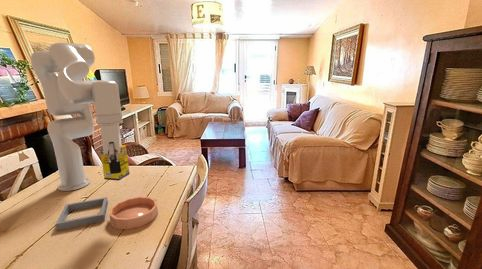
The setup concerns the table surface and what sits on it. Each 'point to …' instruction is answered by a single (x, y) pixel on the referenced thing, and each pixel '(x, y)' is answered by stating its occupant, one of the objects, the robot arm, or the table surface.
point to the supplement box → (123, 164)
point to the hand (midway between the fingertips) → (116, 168)
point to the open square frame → (82, 221)
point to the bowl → (133, 212)
